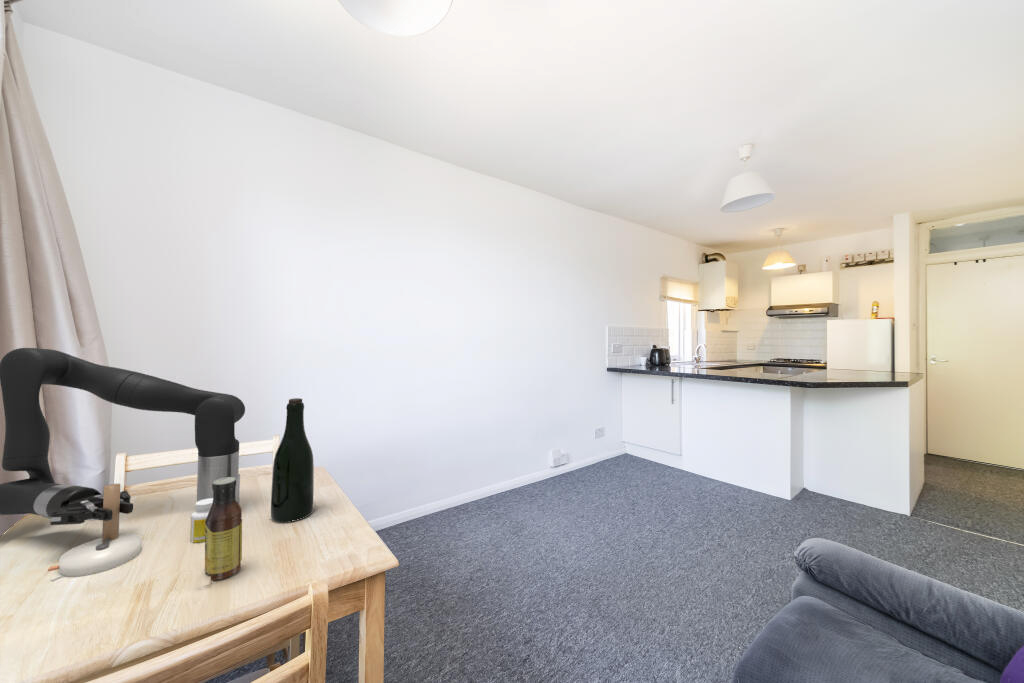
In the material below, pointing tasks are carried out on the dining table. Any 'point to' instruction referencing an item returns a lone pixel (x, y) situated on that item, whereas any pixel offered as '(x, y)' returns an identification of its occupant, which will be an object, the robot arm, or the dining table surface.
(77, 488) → the robot arm
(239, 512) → the sauce bottle
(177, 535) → the dining table surface
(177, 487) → the dining table surface
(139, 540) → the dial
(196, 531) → the supplement bottle
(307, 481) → the dark green wine bottle
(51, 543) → the dining table surface
